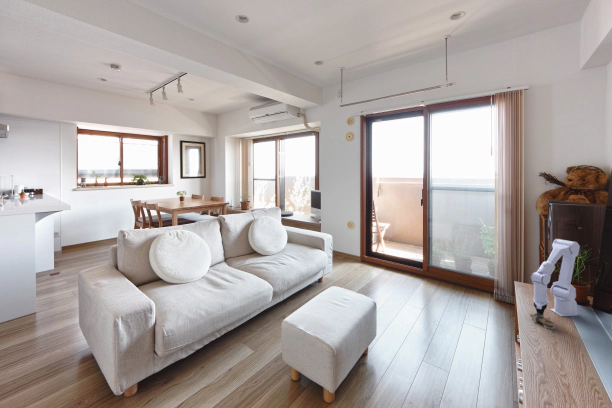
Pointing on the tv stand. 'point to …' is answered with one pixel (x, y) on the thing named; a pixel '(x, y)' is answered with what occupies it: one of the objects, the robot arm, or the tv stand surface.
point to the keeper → (537, 316)
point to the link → (544, 320)
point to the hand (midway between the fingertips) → (540, 315)
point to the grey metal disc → (549, 327)
